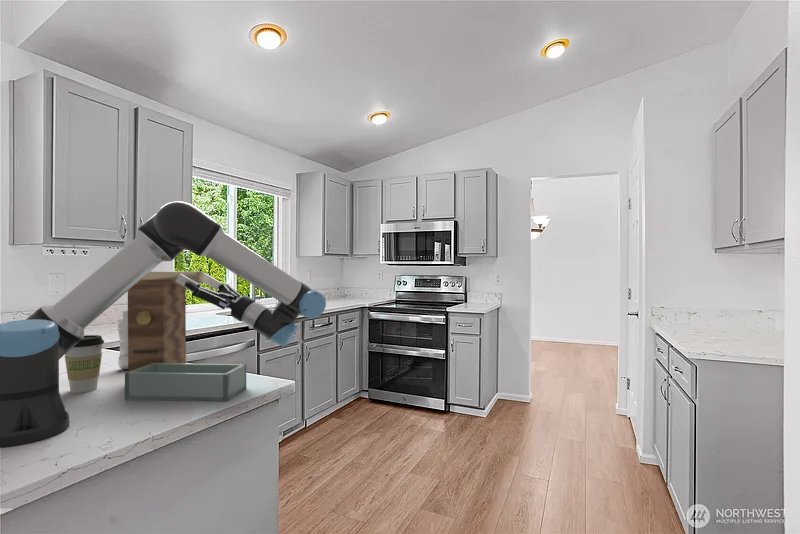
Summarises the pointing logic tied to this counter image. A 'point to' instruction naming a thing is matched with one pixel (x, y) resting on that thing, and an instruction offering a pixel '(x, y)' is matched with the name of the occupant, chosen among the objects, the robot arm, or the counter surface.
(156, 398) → the tray
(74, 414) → the counter surface
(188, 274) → the bar
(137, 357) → the brown wooden box
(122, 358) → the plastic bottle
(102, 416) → the counter surface
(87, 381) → the coffee cup
